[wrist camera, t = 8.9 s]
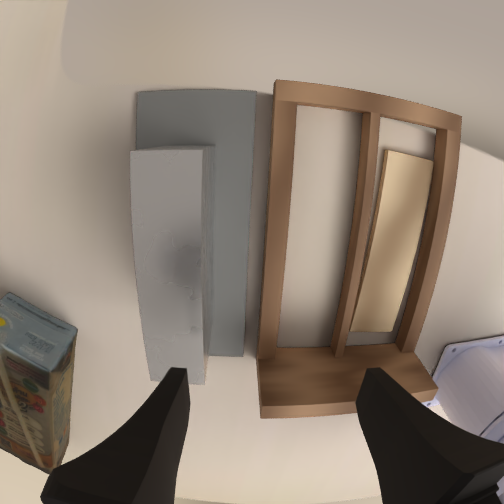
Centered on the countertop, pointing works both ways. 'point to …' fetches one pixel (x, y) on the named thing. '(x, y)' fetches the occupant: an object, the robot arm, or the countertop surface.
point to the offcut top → (392, 241)
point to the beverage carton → (35, 383)
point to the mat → (226, 186)
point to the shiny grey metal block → (174, 254)
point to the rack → (348, 260)
